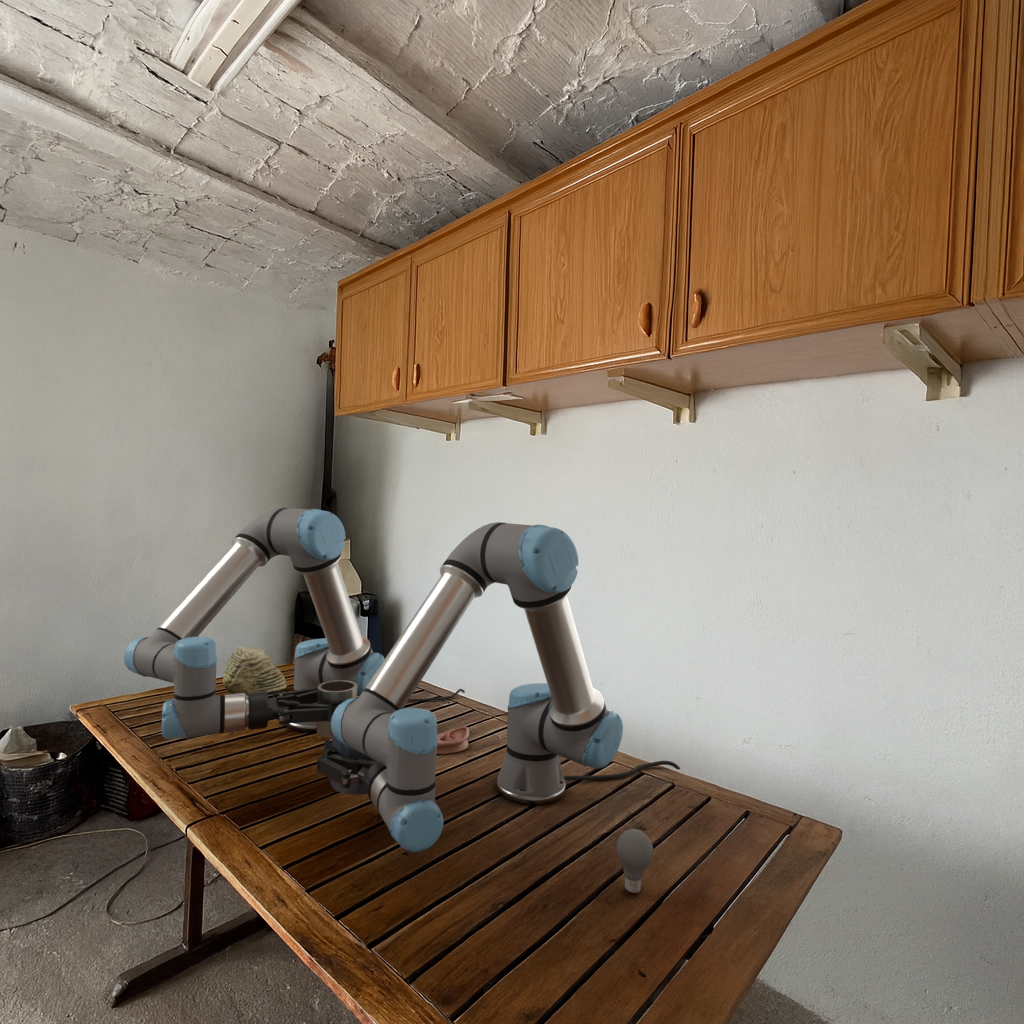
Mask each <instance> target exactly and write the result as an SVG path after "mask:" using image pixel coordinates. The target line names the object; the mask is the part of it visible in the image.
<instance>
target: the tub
mask: <svg viewBox="0 0 1024 1024" xmlns="http://www.w3.org/2000/svg"><path fill="white" fill-rule="evenodd" d="M331 744H332V745H333V747H334V749H335V750H336V755H339V756H342V757H346V758H350V759H353V760H359V759H364V760H367V761H376V760H374V759H372V758H370V757H368V756H366V755H364V754H362V753H360V752H358V751H356V750H354V749H350V748H348V747H347V746H346V745H345V744H344V743H342V742H340V741H339V740H337V738H336V737H335V736H334V734H333V732H332V738H331ZM362 767H363V766H362ZM329 780H330V782H329V784H330V786H331V788H332V789H333V790H335V791H336V792H338V793H341V794H346V795H354V796H355V795H356V796H357V795H361V796H362V795H367V793H366V791H365V789H364V786H363V785H361V784H359V783H358V782H354V783H351V784H350V787H349V788H348V789H344V788H342V786H341V785H340V784H339V783H337V782H335V781H334V780H332V779H330V778H329Z"/></svg>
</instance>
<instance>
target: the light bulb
mask: <svg viewBox="0 0 1024 1024" xmlns="http://www.w3.org/2000/svg"><path fill="white" fill-rule="evenodd" d="M615 849H616V854H617V857H618V859H619V861H620V863H621V865H622V867H623V873H624V874H623V875H624V876H625V878H624V888H625V890H627V891H628V892H630V893H634V894H635V893H639V892H640V891H641V889H642V887H641V886H642V879H643V877H644V875H645V871H646V868H647V867H648V866H649V864H650V863H651V861H652V859H653V855H654V847H653V843H652V841H651V838H649V836H648V835H647V834H646V833H645V832H643V831H642V830H641V829H636V828H629V829H627V830H625V831H623V832H622V833H621V834H620V835H619V837H618V839H617V841H616V847H615Z"/></svg>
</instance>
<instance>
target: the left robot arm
mask: <svg viewBox="0 0 1024 1024" xmlns="http://www.w3.org/2000/svg"><path fill="white" fill-rule="evenodd" d="M345 540H346V531H345V527H344V525H343V523H342V521H341V520H340V518H339V517H338V516H337V515H335V514H334V513H332V512H331V511H327V510H322V509H319V508H309V509H308V508H294V507H293V508H291V507H276V508H272V509H270V510H267V511H265V512H264V513H262V514H260V515H259V516H257V517H256V518H255V519H252V521H250V522H249V523H247V525H246V526H244V527H243V528H242V529H241V530H240V531H239V532H238V533H237V534H236V536H235V537H234V538H233V539H232V540H231V548H229V549H228V551H227V552H226V553H225V554H224V555H223V556H222V557H221V558H220V559H219V560H218V561H217V563H215V565H214V566H213V567H212V568H211V569H210V570H209V571H208V573H206V574H205V576H204V577H203V578H202V579H201V580H200V581H199V582H198V583H197V584H196V586H195V587H194V588H193V589H192V590H191V591H190V592H189V593H188V594H187V596H186V597H184V598H183V599H182V601H181V602H180V603H179V604H178V605H177V607H176V608H175V609H174V610H173V611H172V612H171V613H169V615H168V616H167V617H166V618H165V620H164V621H163V622H162V623H161V624H160V625H159V626H158V627H157V628H156V629H155V630H154V631H153V632H152V633H151V634H150V636H149V637H148V636H146V637H138V638H136V639H134V640H132V641H131V642H129V644H128V645H127V647H126V649H125V651H124V654H123V662H124V663H123V664H124V665H125V667H126V669H127V670H129V671H130V672H132V673H134V674H136V675H139V676H142V677H146V678H153V679H157V680H160V681H164V682H167V683H172V684H173V698H172V699H170V700H169V699H168V700H166V701H165V702H163V704H162V711H161V735H162V737H163V738H164V739H166V740H176V739H177V740H179V739H190V738H191V739H192V738H198V737H205V736H212V735H213V736H214V735H219V734H227V733H228V734H229V735H233V734H235V733H236V732H243V731H245V730H246V728H248V730H249V731H254V730H262V729H266V728H267V727H268V725H269V721H270V720H278V725H281V726H283V725H285V726H286V728H287V729H289V730H291V731H294V732H295V731H296V732H301V733H317V722H321V721H331V716H333V713H334V711H335V710H336V708H337V707H338V706H339V705H340V704H342V703H343V702H344V701H341V702H332V703H331V705H324V704H317V691H318V686H319V685H320V684H322V683H324V682H328V681H334V680H346V681H352V682H355V683H356V684H357V697H360V695H361V694H362V692H363V691H364V690H365V688H366V686H367V685H368V683H369V682H370V680H371V679H372V677H373V676H374V674H375V673H376V671H377V670H378V668H379V667H380V666H381V664H382V663H383V661H384V660H385V657H384V655H383V654H381V653H379V652H374V651H373V649H372V644H371V642H370V640H369V639H368V638H367V637H366V636H363V635H362V634H361V630H360V627H359V624H358V621H357V618H356V614H355V611H354V609H353V605H352V603H351V600H350V596H349V594H348V590H347V587H346V584H345V581H344V578H343V575H342V572H341V569H340V566H339V561H340V560H341V558H342V552H343V550H344V548H345V545H346V544H345V542H344V541H345ZM277 556H286V557H289V559H290V561H291V563H292V567H293V569H294V571H295V572H296V573H299V574H301V575H303V577H304V580H305V584H306V586H307V589H308V592H309V595H310V597H311V601H312V603H313V605H314V608H315V612H316V615H317V617H318V620H319V623H320V625H321V628H322V631H323V635H324V638H323V637H322V638H313V639H308V640H304V641H302V642H299V643H298V644H297V645H296V647H295V652H294V653H295V654H294V657H293V659H294V660H293V662H294V663H293V665H294V666H293V690H290V691H289V690H288V691H284V692H279V693H274V695H273V697H272V698H269V696H268V694H267V692H266V691H261V692H251V693H250V694H248V696H246V694H245V693H238V694H230V693H229V694H222V695H217V694H216V691H217V689H216V687H217V662H218V655H217V642H216V640H214V638H211V637H208V636H200V635H201V634H202V633H203V631H204V630H205V629H206V628H207V627H208V626H209V624H210V623H211V622H212V621H213V620H214V619H215V617H216V616H217V615H218V614H219V613H220V612H221V610H222V609H223V608H224V607H226V604H228V602H230V600H231V599H232V598H233V597H234V596H235V594H236V593H237V592H238V591H239V589H240V588H241V587H242V586H243V585H244V584H245V583H246V581H247V580H248V579H249V578H250V577H251V576H252V574H253V573H254V572H255V571H256V570H257V569H258V568H259V567H264V566H266V565H267V563H269V561H270V560H271V559H273V558H275V557H277ZM460 692H462V694H463V693H464V694H465V693H466V691H465V690H464V689H463V688H459V689H458V690H456V691H455V693H453V694H451V695H448V696H440V697H428V698H427V697H426V698H410V699H409V700H408V702H430V701H431V702H433V701H444V700H449V699H453V698H455V697H456V696H457V695H458V694H459V693H460ZM408 702H407V703H408ZM323 712H324V713H323Z"/></svg>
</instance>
